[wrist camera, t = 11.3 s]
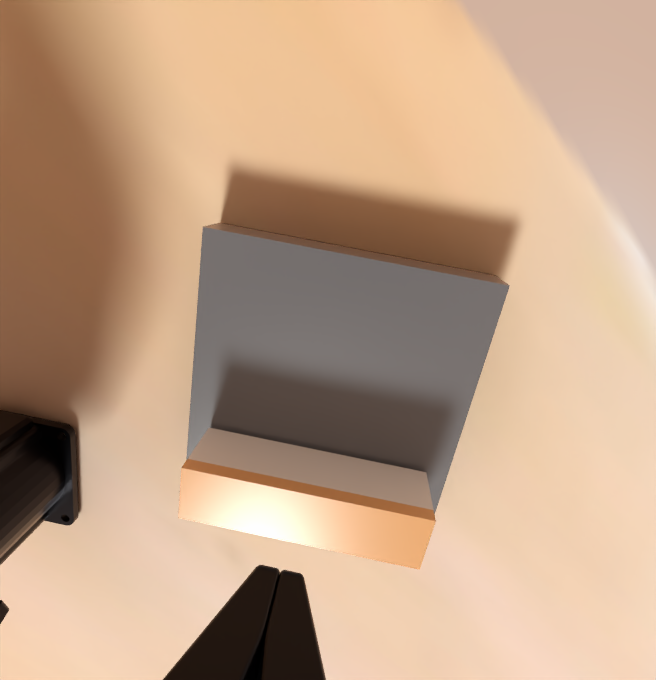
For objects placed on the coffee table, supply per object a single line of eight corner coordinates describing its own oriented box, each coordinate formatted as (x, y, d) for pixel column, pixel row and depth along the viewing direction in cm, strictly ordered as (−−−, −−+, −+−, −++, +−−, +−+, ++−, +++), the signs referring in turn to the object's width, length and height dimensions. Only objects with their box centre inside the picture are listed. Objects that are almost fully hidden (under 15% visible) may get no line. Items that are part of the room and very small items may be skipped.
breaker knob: (412, 515, 20) (419, 569, 17) (204, 472, 20) (178, 518, 18) (426, 472, 19) (435, 521, 16) (208, 427, 20) (181, 467, 17)
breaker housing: (424, 500, 22) (429, 529, 20) (200, 453, 23) (185, 477, 21) (495, 275, 18) (509, 285, 16) (219, 222, 19) (202, 227, 17)
